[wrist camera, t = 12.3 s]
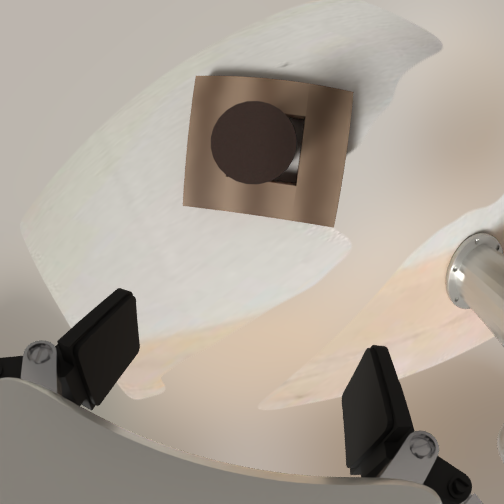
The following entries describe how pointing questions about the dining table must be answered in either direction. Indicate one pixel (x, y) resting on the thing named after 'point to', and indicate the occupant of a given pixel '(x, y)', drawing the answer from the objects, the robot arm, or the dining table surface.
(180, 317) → the dining table surface
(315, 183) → the socket board
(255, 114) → the deodorant
